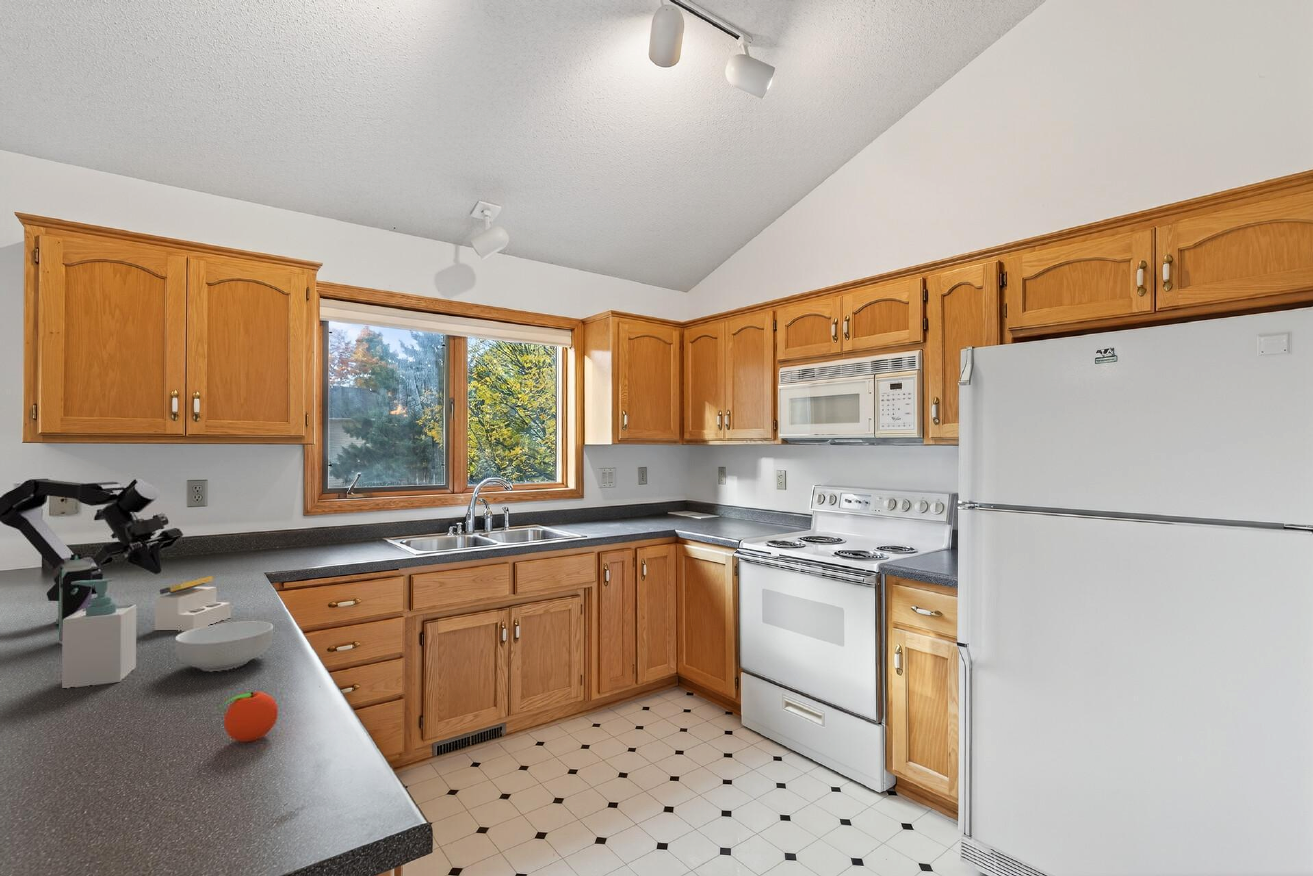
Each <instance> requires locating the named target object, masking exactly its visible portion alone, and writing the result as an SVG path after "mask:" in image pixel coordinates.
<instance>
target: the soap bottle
mask: <svg viewBox="0 0 1313 876" xmlns="http://www.w3.org/2000/svg"><path fill="white" fill-rule="evenodd" d="M115 579H116V578H115V577H112V578H103V579H102V580H82V581H75V582H71V584H72V585H74V584H78V585H83V586H90V587H94V586H95V591H96V592H97V595H96V596H95V597H91V605H88V606H87V607H86V608H84V609H81V610H80V611H78V612H76V613H74V614H72V615H70V616H68V617H67V618H65V619H63V641H62V644H61V646H62V652H61V655H62V658H61V659H62V660H61V661H62V662H61V666H62V668H61V688H67V689H71V688H70V687H75V688H82V687H91V686H90V685H92V686H99V685H106V684H115V683H116V682H117V683H120V682H122V681H123V680H122V679H125V678H126V677H127V676H128V675H129V674H131V671H132V670H133V671H134V670H135V669H136V667H137V605H136V604H134V603H133V604H124V605H117V603H116V602H114V601H112V596H111V595H106V592H107V590H108V582H111V581H114V580H115ZM133 671H132V672H133Z"/></svg>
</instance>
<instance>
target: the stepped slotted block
mask: <svg viewBox="0 0 1313 876" xmlns="http://www.w3.org/2000/svg"><path fill="white" fill-rule="evenodd" d="M217 589H218V588H217V586H198V587H194V588H190V589H187V590H183V591H180V592H176V593H172V594H171V593H170V592H169V593H168V594H167V593H165V594H162V595H159V596H156V597H155V598H154V599H155V600H154V601H155V603H154V604H155V605H154V607H155V609H154V615H155V616H154V631H155V630H178V631H177V632H186V631H188V630H192V629H196V628H200V627H204V626H208V625H210V624H213V625H215V624H214V623H216V622H218V623H220V622H219V621H221V620H224V621H226V620H225V619H227V618H230V619H231V618H232V602H226V601H225V602H222V601H218V602H217V599H218V598H217V596H218V595H217V593H218V592H217ZM227 620H228V619H227ZM221 622H222V621H221ZM216 624H217V623H216ZM180 630H181V631H180Z"/></svg>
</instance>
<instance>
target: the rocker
mask: <svg viewBox="0 0 1313 876" xmlns="http://www.w3.org/2000/svg"><path fill="white" fill-rule="evenodd" d="M212 581H214V579H213V575H210V576H206V577H202V578H199V579H194V580H191V581H186V582H183V583H180V584H179V583H178V584H175V585H172V586H168V587H165V588H161V589H159V593H160V595H165V594H167V593H168V594H170V593H171V594H172V593H176V592H180V591H183V590H187V589H190V588H194V587H202V586H204V585H205V583H208V582H212Z"/></svg>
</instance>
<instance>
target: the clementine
mask: <svg viewBox="0 0 1313 876" xmlns="http://www.w3.org/2000/svg"><path fill="white" fill-rule="evenodd" d="M232 701H233V702H232ZM230 702H232V703H231V704H230V705H229V707H228V708H227V710H226V712H225V715H224V721H223V725H224V730H225V732H226V733H227V735H228V736H229V737H231V738H232V739H233V740H236V741H238V742H243V743H245V742H246V743H247V741H248V742H253V741H256V740H259V739H261V738H262V737H264V736H265V735H267V734H268V733H269V732H270V731H271V730H272V728H273V727H274V726H275V723H276V722H277V719H278V714H279V710H278V704H277V702H276V701H275V699H274V698H273V697H272V696H271V695H270V694H267V693H265V692H262V691H254V692H253V691H252V692H248V693H243V694H239V695H236V696H234V697H231V698H229V699H228V700H226V702H224V703H223V704H222V705H221V706H220V707H219V709H218V710H217V712H216V714H215V716H217V714H218V713H219V712H220V711H219V710H220V709H221V708H223V706H224V705H226V704H227V703H230Z"/></svg>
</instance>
